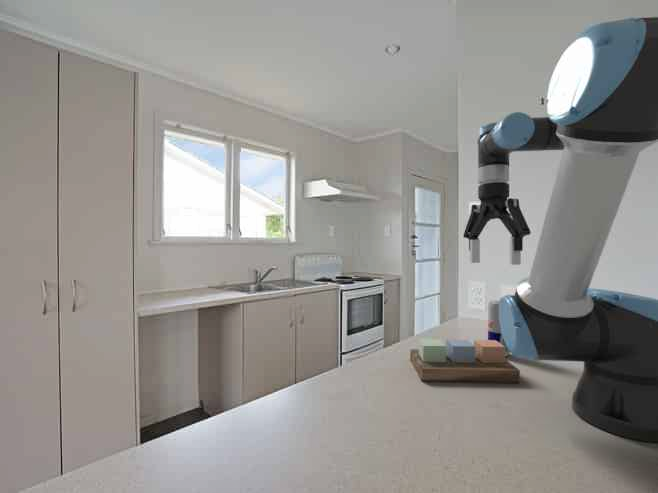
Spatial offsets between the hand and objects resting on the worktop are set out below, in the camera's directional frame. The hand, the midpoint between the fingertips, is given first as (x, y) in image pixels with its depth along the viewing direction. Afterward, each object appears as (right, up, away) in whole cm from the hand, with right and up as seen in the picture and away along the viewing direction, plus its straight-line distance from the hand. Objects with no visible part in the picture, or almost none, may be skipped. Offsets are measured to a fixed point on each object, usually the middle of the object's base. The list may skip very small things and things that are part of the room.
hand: (493, 263), depth 92 cm
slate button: (-11, -23, -6) cm, 27 cm away
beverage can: (+5, -26, +7) cm, 27 cm away
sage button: (-18, -23, -6) cm, 30 cm away
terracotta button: (-4, -23, -6) cm, 25 cm away
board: (-11, -26, -6) cm, 29 cm away
